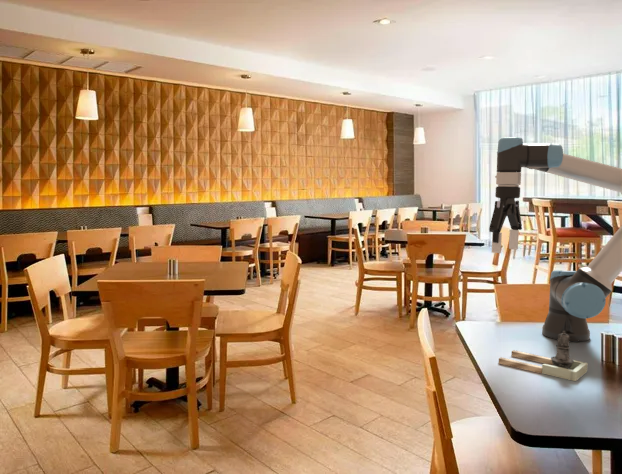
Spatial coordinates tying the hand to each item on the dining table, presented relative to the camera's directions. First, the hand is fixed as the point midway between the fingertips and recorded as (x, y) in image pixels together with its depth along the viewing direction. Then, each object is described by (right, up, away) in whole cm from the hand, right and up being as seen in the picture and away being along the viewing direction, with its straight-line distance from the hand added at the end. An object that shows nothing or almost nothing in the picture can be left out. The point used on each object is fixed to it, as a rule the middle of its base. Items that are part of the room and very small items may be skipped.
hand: (504, 251), depth 180 cm
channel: (0, -33, -18) cm, 38 cm away
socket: (+7, -34, -25) cm, 42 cm away
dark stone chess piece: (+7, -34, -25) cm, 42 cm away
